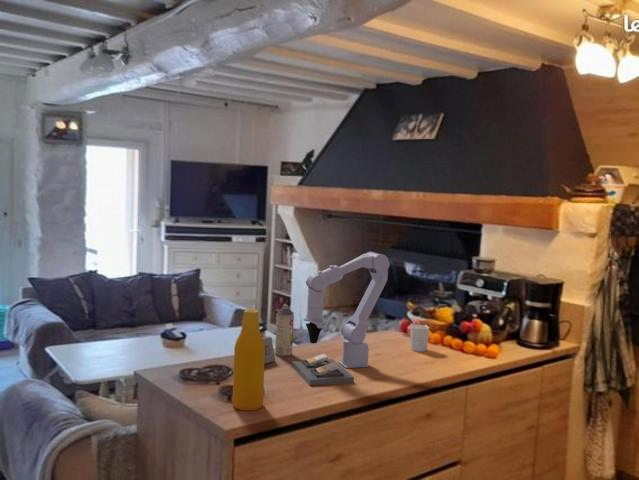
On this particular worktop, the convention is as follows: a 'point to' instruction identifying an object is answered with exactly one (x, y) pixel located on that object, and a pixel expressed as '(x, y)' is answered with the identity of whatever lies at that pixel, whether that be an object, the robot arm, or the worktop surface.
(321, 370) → the front rocker
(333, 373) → the breaker panel
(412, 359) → the worktop surface
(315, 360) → the back rocker
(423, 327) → the white cup
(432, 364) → the worktop surface
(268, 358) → the electrical switch
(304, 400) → the worktop surface
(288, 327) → the aerosol can
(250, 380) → the beer bottle
